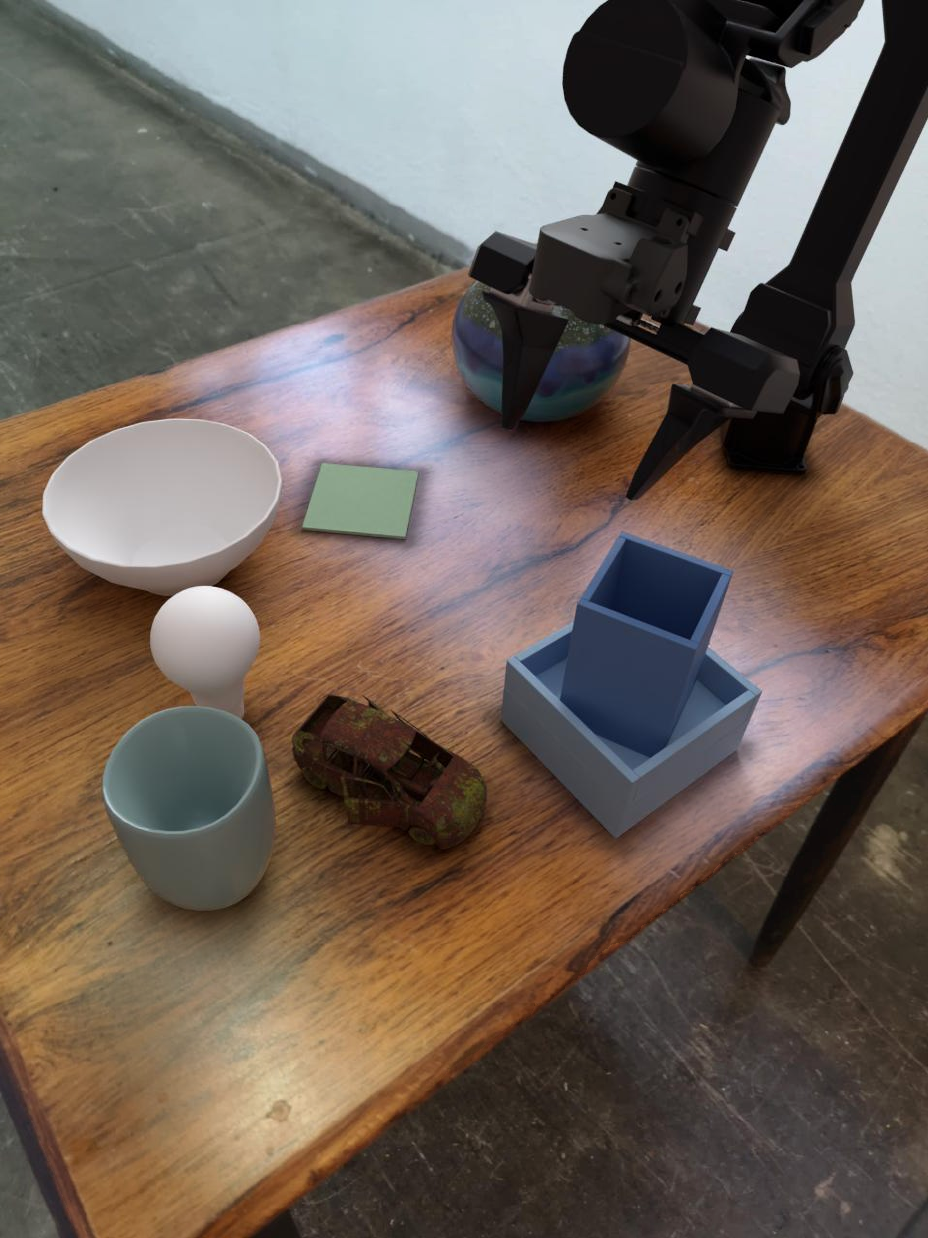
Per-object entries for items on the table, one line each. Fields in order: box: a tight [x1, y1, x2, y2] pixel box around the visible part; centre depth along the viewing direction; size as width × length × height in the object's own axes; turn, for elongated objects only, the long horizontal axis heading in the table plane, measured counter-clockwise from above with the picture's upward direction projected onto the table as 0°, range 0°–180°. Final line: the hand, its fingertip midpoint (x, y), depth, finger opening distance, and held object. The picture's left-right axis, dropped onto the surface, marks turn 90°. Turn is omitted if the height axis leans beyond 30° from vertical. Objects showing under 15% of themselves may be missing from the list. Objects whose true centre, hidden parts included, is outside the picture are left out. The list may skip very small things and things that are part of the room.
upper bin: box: [560, 530, 734, 758], centre depth 55 cm, size 7×7×10 cm
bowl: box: [41, 418, 283, 597], centre depth 68 cm, size 16×16×7 cm
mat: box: [301, 462, 419, 540], centre depth 76 cm, size 8×8×1 cm
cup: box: [101, 705, 277, 912], centre depth 50 cm, size 8×8×10 cm
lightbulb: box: [149, 586, 261, 720], centre depth 57 cm, size 6×6×11 cm
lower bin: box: [500, 620, 763, 839], centre depth 59 cm, size 11×11×6 cm
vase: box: [451, 280, 632, 423], centre depth 82 cm, size 15×15×13 cm
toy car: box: [291, 694, 488, 850], centre depth 56 cm, size 12×7×5 cm, turn 60°
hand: (567, 462), depth 56 cm, fingers open, 9 cm apart
